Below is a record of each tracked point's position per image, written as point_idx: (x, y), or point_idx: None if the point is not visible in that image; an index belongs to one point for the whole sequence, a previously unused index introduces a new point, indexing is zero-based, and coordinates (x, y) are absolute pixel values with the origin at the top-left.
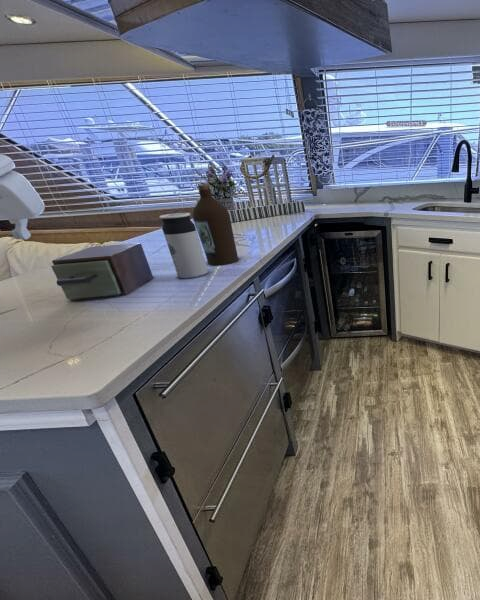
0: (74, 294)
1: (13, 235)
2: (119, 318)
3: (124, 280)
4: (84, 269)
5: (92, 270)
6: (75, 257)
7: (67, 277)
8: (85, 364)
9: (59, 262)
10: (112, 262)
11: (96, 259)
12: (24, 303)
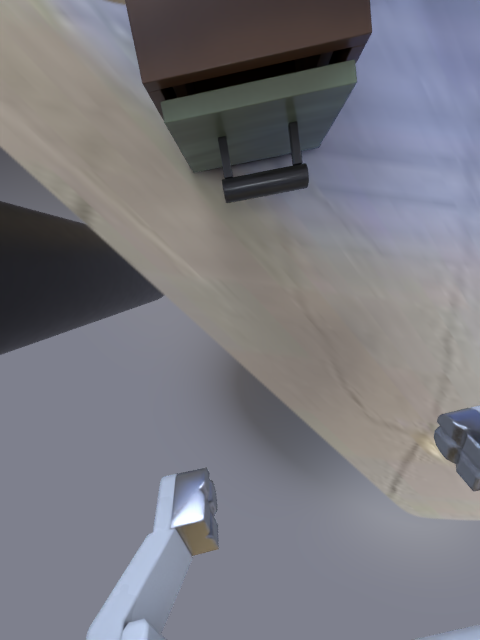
0: (213, 164)
1: (456, 467)
2: (406, 294)
3: None
4: (269, 114)
5: (293, 114)
6: (211, 37)
7: (207, 139)
8: None
9: (169, 84)
10: (356, 56)
11: (307, 54)
12: (65, 163)
